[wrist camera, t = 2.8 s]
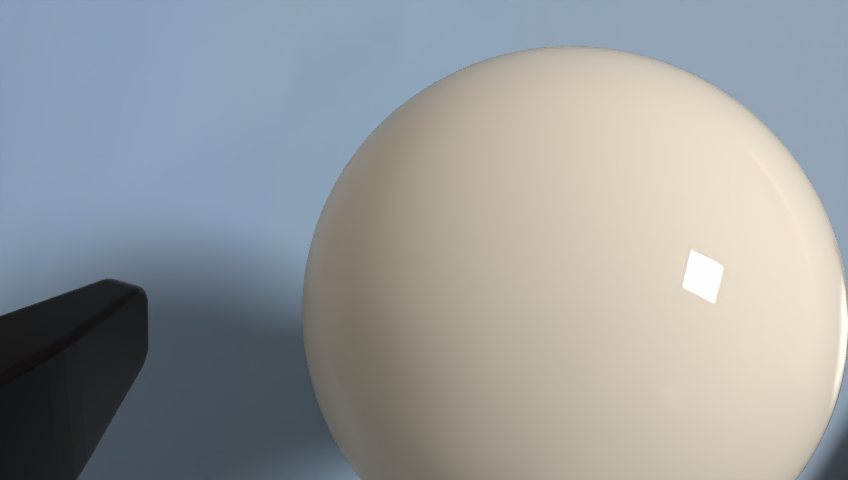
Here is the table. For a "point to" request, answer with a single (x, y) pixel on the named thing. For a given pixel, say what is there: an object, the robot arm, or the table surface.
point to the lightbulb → (575, 282)
